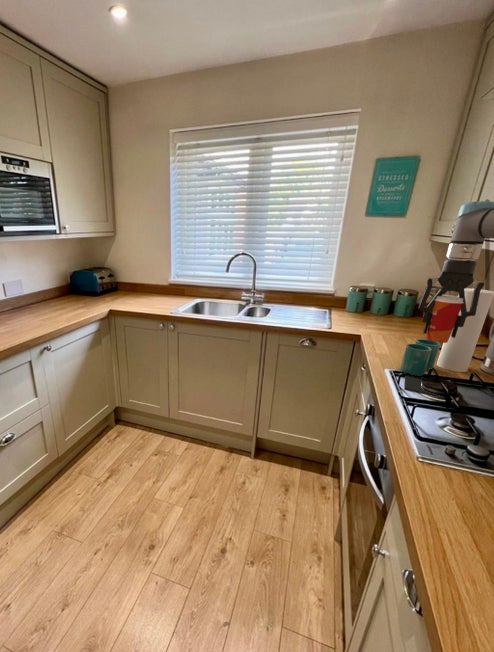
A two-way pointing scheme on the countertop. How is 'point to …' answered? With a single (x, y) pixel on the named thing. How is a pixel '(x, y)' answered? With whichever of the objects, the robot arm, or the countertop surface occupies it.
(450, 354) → the paper towel roll
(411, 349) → the teal cup
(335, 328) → the countertop surface
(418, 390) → the mat
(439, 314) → the paper cup
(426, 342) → the teal cup
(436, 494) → the countertop surface
